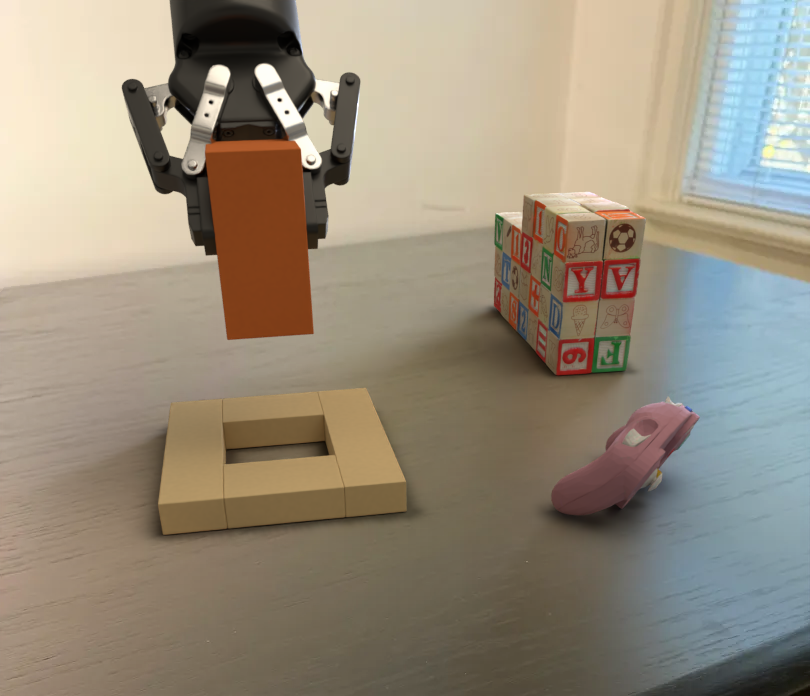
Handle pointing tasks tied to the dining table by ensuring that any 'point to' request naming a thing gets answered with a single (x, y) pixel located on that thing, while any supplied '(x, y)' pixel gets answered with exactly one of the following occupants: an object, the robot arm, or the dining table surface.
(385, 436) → the base pad
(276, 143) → the upright block
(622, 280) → the stack of blocks
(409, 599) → the dining table surface
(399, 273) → the dining table surface
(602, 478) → the pink curved elongated piece
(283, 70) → the robot arm
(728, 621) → the dining table surface
